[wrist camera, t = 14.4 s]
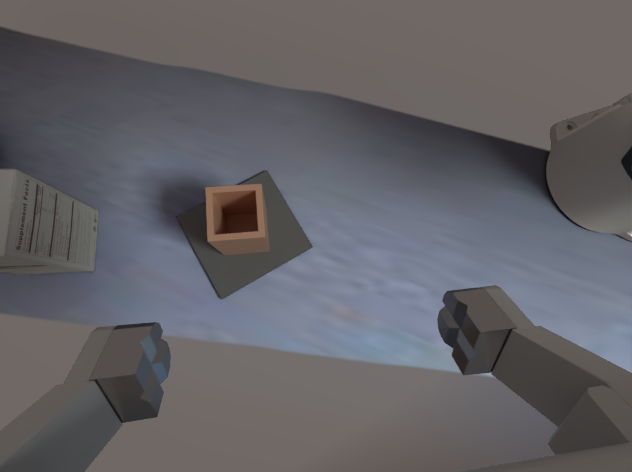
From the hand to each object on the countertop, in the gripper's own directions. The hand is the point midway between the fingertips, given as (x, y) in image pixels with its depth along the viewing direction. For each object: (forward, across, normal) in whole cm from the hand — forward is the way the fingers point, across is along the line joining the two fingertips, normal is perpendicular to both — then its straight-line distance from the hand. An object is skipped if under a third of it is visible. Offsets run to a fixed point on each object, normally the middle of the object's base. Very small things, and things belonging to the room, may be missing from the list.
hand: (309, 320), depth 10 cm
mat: (+27, +5, +14) cm, 31 cm away
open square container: (+27, +4, +14) cm, 31 cm away
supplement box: (+28, +25, +14) cm, 40 cm away
